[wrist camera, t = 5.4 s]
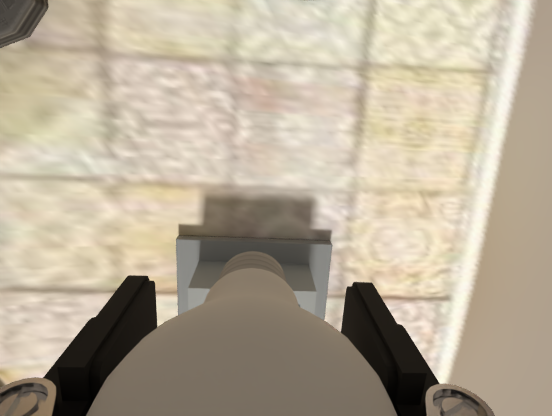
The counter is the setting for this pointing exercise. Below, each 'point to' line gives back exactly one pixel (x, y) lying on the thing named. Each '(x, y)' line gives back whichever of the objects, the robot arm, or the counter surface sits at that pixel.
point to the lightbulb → (244, 358)
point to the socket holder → (287, 252)
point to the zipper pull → (19, 19)
